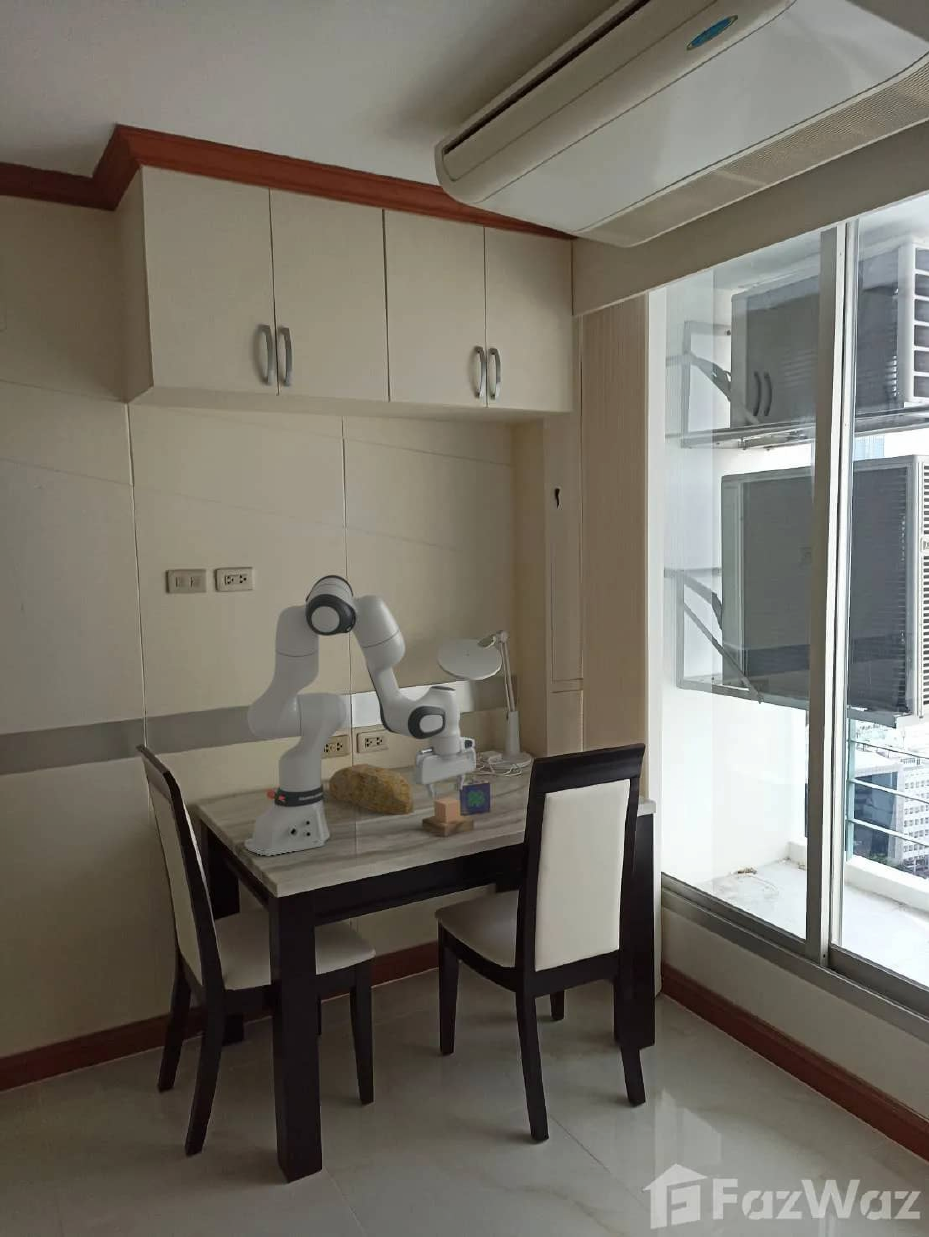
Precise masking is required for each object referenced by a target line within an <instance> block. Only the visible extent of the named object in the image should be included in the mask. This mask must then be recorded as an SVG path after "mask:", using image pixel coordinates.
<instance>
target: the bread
mask: <svg viewBox="0 0 929 1237" xmlns="http://www.w3.org/2000/svg"><path fill="white" fill-rule="evenodd" d="M328 784H329V786H328V787H329V793H330V794H331V796H332V795H333V796H332V797H334V796H335V797H336V798H335V797H334V798H335V799H336V800H338V799H340V800H339V801H341V800H342V802H345V803H348V804H350V805H354V806H357V807H361V808H363V809H367V810H370V811H373V812H377V813H378V814H379V813H380V814H387V815H392V816H393V815H394V816H400V815H401V816H403V815H409V814H413V813H414V809H415V808H414V791H413V789H412V788H411V786H410V784H409V782H408V781H407V780H406V779H405V777H404V776H402V775H401V774H400V773H399V772H397V771H396V770H391V769H388V768H383V767H380V766H377V765H372V764H369V763H362V764H355V765H351V766H347V767H343V768H341V769H339V770H337V771H335V772H334V773H333V775H332V776H331V778H330V780H329V781H328Z"/></svg>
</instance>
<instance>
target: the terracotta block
mask: <svg viewBox="0 0 929 1237" xmlns="http://www.w3.org/2000/svg"><path fill="white" fill-rule="evenodd" d="M433 804H434V805H433V806H434V808H433V810H434V811H433V812H434V816H435V819H437V820H440V821H443V822H445V823H447V822H451V821H454V820H457V819H460V799H456V798H453V797H449V796H447V797H443V798H439V799H436V800H434V801H433Z"/></svg>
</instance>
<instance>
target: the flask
mask: <svg viewBox="0 0 929 1237" xmlns="http://www.w3.org/2000/svg"><path fill="white" fill-rule="evenodd" d="M476 777H477V776H476V775H473V776H471V777H470V778H471V780H470V781H469V782H463V784H462V790H458V792H459V801H460V815H463V816H465V817H468V816H473V815H478V814H479V815H480V814H489V813H490V812H491V782H490V781H488V780H485V779H479V780H478V779H477V778H476Z"/></svg>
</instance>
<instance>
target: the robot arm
mask: <svg viewBox="0 0 929 1237" xmlns="http://www.w3.org/2000/svg"><path fill="white" fill-rule="evenodd" d="M350 632H352V633H353V634H354V636H355V639H356V640H357V643H358V645H359V648H360V649H361V652H362V655H363V656H364V659H365V665H366V669H367V671H368V675H369V677H370V682H371V683H372V686H373V689H374V692H375V694H376V697H377V700H378V704H379V706H378V707H379V718H380V722H381V724H382V726H383V727H384V729H385V730H387V731H388V732H390V733H393V734H398V735H402V736H405V737H409V738H411V739H415V740H424V739H427V741H428V743H427V744H428V748H426V749H420V750H419V751H418V752H417V753H416V754H415V756H414V764H413V774H412V775H413V777H412V778H413V781H414V782H415V784H417V785H420V786H425V788H426V790H427V791H428V794H427V795H428V798H429V799H434V798H437V797H438V796H437V795H438V794H437V791H436V790H435V789H434V788H433V787H434V786H435V785H434V783H437V782H440V781H443V780H447V779H451V778H455V777H457V780H456V782H455V783H453V785H454V786H453V787H454V790H455V791H456V792H457V791H458V792H459V790H462V784H463V783H464V781H465V779H466V774H468V773H471V772H474V771H475V769H476V767H477V756H476V755H477V754H476V749H475V748H474V747H475V745H476V743H475V742H476V741H475V739H472V738H469V737H466V736H462V735H461V729H460V720H461V707H460V699H459V694H458V692H457V690H456V689H454V688H453V687H448V686H444V685H433V686H430V687H429V689H428V691H427V692H426V693H425V694H424V695H422V696H421V697H420V698H419V699H416V700H414V699H413V700H412V699H410V698H408V697H406V696H405V695H404V694H402V692H401V690H400V688H399V685H398V681H397V679H396V676H395V674H394V670H393V667H394V666H396V665H397V664H398V663H400V661H401V660H402V659H403V657H404V655H405V652H406V645H405V640H404V637H403V634H402V632H401V630H400V627H399V625H398V623H397V621H396V619H395V617H394V616H393V614H392V612H391V610H390V609H389V607H388V605H387V604H386V603H385V601H384V600H383V599H382V598H381V597H380V596H377V595H376V594H375V595H373V594H370V595H364V596H362V597H354V593H353V588H352V586H351V585H350V583H349V582H348V580H346V579H345V578H344V577H342V576H340V575H335V574H328V575H325V576H322V578H320V579H318V581H317V582H316V583H314V585H313V586H312V587H311V590H310V592H309V593H308V595H307V596H306V598H305V604H303V605H293V606H292V605H291V606H289V607H286V608H285V609H283V610H282V611H281V612H280V614H279V615H278V619H277V623H276V632H275V638H274V639H275V642H274V646H275V648H274V649H275V651H274V652H275V654H274V655H275V656H274V658H275V659H274V661H275V662H274V670H273V671H274V673H273V677H272V680H271V682H270V684H269V686H268V687H267V689H266V691H265V692H264V693H263V694H262V695H260V696H259V697H257V699H255V700H254V701H253V702H252V703H251V705H250V706H249V709H248V711H247V714H246V715H247V716H246V719H247V725H248V727H249V728H248V729H250V731H251V732H252V734H254V736H256V737H258V738H259V737H260V738H269V739H278V738H279V739H280V738H288V737H289V738H290V737H299V741H298V742H297V743H296V744H295V745H294V746H293V747H290V749H287V750H286V751H285V752H283V753H282V755H281V756H280V758H279V760H278V781H279V782H278V783H279V786H278V788H277V790H276V791H273V790H271V789H269V790H267V792H266V794H265V795H266V797H267V798H268V799H271V800H273V799H274V800H273V804H271V805H270V806H269V807H268V808H267V809H266V811H264V812H263V813H262V814H261V816H260V817H258V818H257V819H256V820H255V822H254V824H253V831H252V837H250V838H247V839H245V841H244V848H245V847H246V848H245V849H246V850H247V849H248V850H247V851H249V852H251V851H252V852H251V853H253V852H255V853H257V854H256V855H258V854H260V855H259V856H262V855H266V856H265V857H272V856H271V855H274V856H277V855H276V854H280V855H282V854H281V853H285V854H287V853H286V852H290V853H293V852H292V851H295V852H298V851H299V852H300V851H303V850H309V849H314V848H319V847H323V846H325V842H326V841H327V840H328V839H329V838H330V836H331V834H330V831H329V827H328V825H327V821H326V816H325V809H324V802H325V800H324V799H325V792H324V784H323V783H322V759H323V754H324V751H325V750H324V749H325V748H326V746H327V744H328V742H329V741H330V739H331V738H332V736H333V735H334V734H335V733H336V732H337V731H338V730H340V729H341V728H342V726H343V725H344V723H345V720H346V717H347V708H346V705H345V702H344V701H343V699H342V698H341V697H340V695H338V694H337V693H329V692H320V691H319V692H309V693H300V692H301V691H302V690H304V688H306V687H308V686H310V685H311V684H312V683H313V682H314V681H316V679H317V677H318V675H319V672H320V670H319V668H320V667H319V666H320V664H319V663H320V662H319V661H320V660H319V659H320V651H319V650H320V649H319V648H320V642H319V641H320V640H319V639H320V636H325V637H330V636H336V635H339V634H349V633H350ZM255 853H254V854H255Z"/></svg>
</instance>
